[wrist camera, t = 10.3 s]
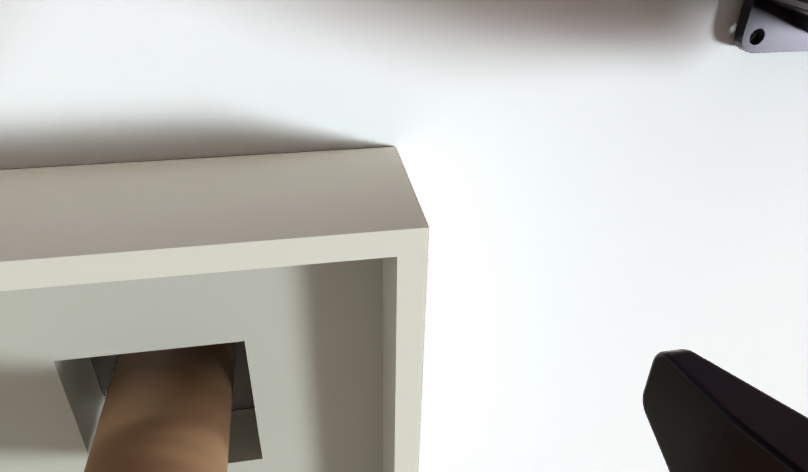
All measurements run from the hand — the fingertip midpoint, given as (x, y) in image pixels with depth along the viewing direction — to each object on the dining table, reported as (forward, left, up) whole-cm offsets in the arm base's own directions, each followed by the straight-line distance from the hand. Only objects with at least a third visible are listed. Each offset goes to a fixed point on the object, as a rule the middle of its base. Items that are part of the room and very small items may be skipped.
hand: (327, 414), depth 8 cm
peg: (+5, +10, -12) cm, 17 cm away
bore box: (+5, +10, -12) cm, 17 cm away
